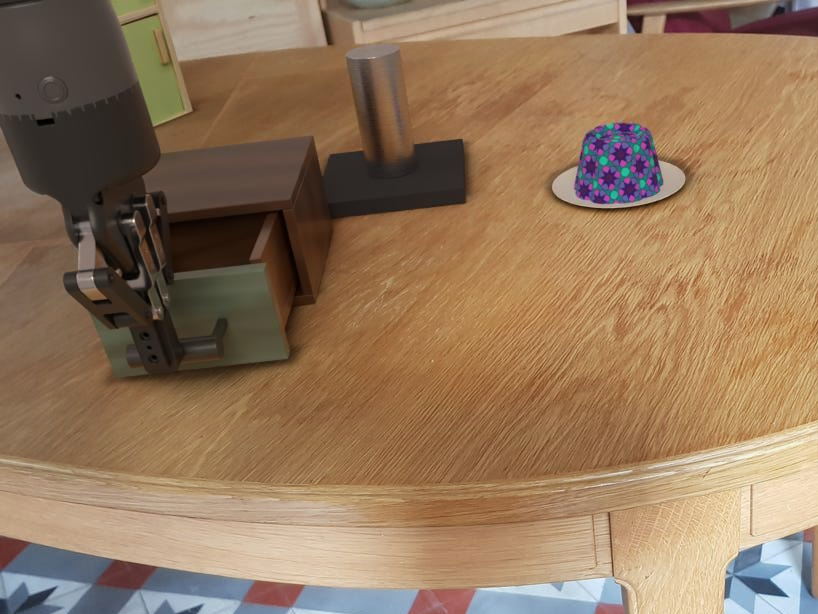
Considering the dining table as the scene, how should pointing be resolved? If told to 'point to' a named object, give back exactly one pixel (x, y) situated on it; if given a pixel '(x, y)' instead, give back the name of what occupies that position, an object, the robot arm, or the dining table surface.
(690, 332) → the dining table surface
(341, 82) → the dining table surface
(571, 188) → the pudding
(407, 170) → the brushed steel cylinder
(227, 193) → the cabinet
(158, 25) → the toy refrigerator
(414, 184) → the black rectangular block
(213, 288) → the drawer
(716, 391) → the dining table surface
